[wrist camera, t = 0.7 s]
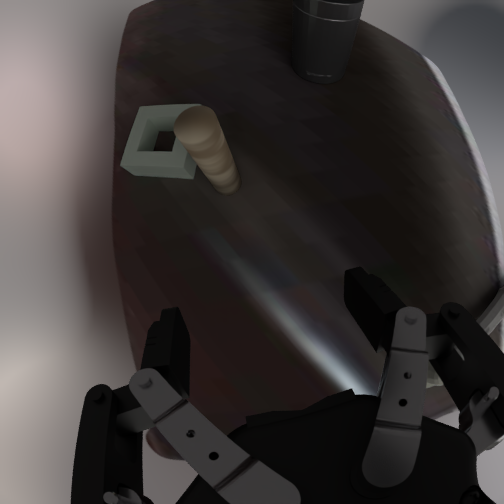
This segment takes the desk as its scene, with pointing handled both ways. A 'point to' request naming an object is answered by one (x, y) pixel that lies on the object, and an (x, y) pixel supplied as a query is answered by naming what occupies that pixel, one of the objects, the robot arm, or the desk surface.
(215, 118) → the peg
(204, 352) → the desk surface
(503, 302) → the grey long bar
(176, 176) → the socket
